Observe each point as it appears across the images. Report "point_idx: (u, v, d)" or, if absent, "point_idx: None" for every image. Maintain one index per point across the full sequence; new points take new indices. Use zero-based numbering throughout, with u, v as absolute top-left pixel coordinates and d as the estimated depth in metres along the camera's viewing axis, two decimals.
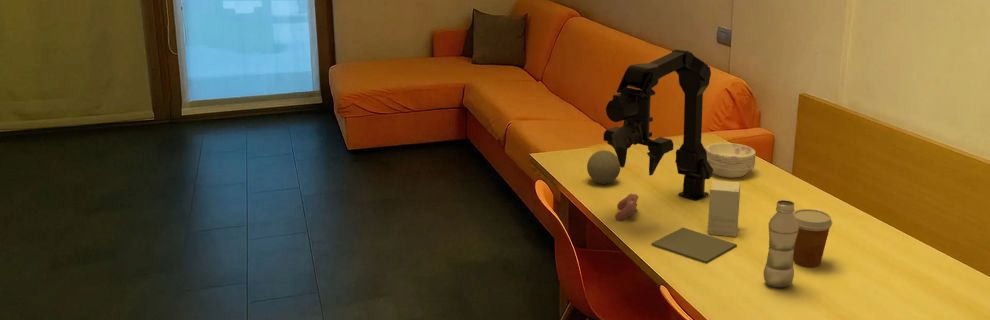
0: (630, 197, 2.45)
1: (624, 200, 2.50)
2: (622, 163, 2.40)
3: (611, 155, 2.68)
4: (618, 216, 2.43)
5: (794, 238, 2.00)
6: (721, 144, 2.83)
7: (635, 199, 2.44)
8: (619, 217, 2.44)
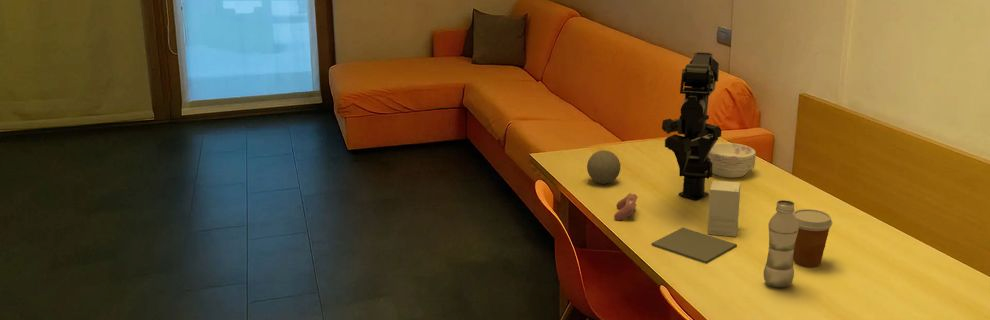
0: (629, 197, 2.45)
1: (623, 200, 2.51)
2: (700, 158, 2.48)
3: (611, 155, 2.68)
4: (617, 216, 2.44)
5: (794, 238, 2.00)
6: (721, 144, 2.83)
7: (634, 199, 2.44)
8: (618, 217, 2.44)
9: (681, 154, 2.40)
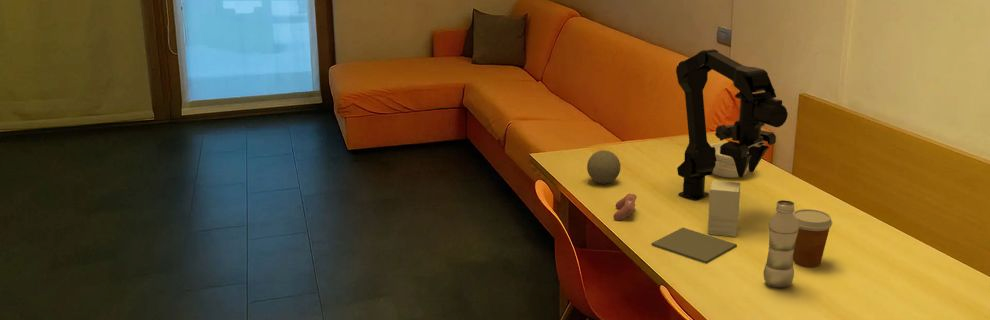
0: (628, 197, 2.45)
1: (622, 200, 2.51)
2: (750, 167, 2.41)
3: (611, 155, 2.68)
4: (616, 216, 2.44)
5: (794, 238, 2.00)
6: (721, 144, 2.83)
7: (633, 199, 2.44)
8: (618, 217, 2.44)
9: (740, 160, 2.35)
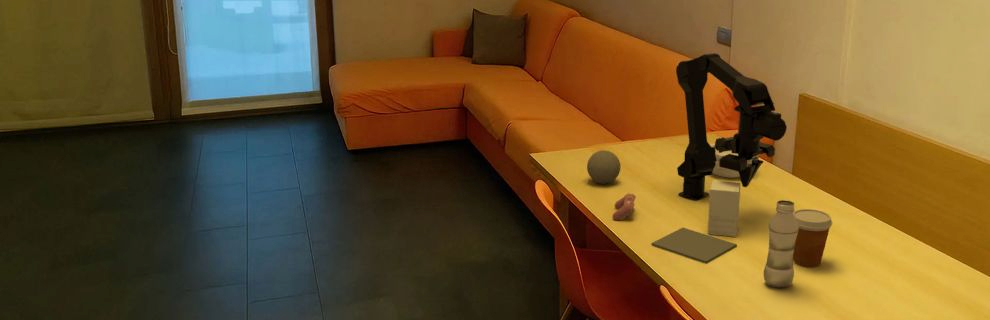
0: (627, 197, 2.45)
1: (621, 200, 2.51)
2: None
3: (611, 155, 2.68)
4: (615, 216, 2.44)
5: (794, 238, 2.00)
6: None
7: (632, 199, 2.44)
8: (617, 217, 2.44)
9: (744, 170, 2.37)
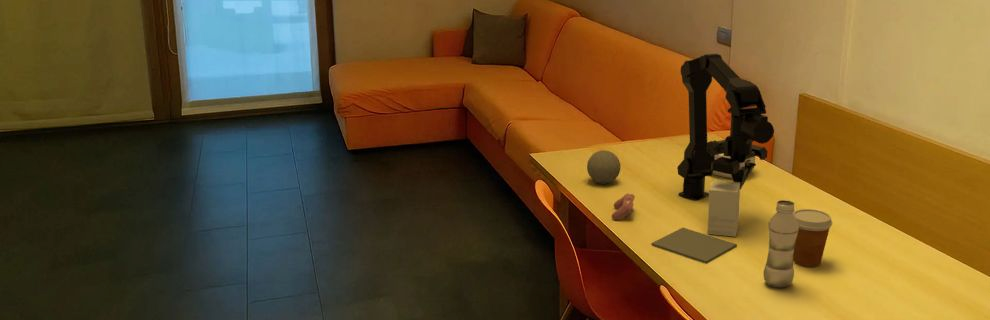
0: (626, 197, 2.45)
1: (620, 200, 2.51)
2: None
3: (611, 155, 2.68)
4: (614, 216, 2.44)
5: (794, 238, 2.00)
6: None
7: (631, 199, 2.44)
8: (616, 217, 2.44)
9: (737, 173, 2.34)
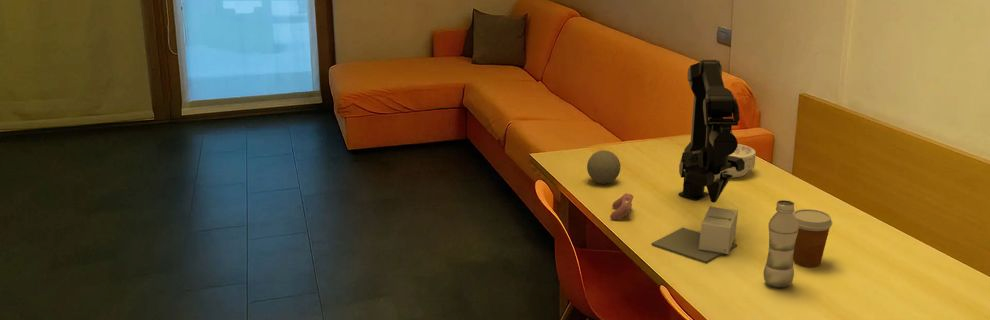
0: (625, 197, 2.45)
1: (619, 200, 2.51)
2: None
3: (611, 155, 2.68)
4: (613, 216, 2.44)
5: (794, 238, 2.00)
6: None
7: (630, 199, 2.44)
8: (614, 217, 2.44)
9: (712, 185, 2.27)
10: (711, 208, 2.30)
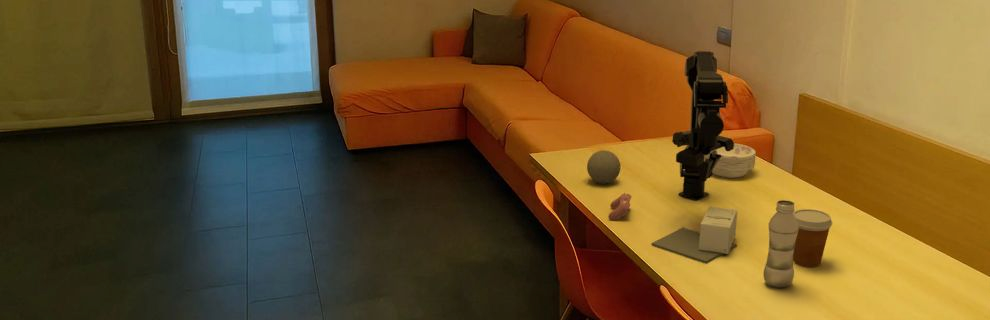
0: (623, 197, 2.45)
1: (617, 200, 2.51)
2: None
3: (611, 155, 2.68)
4: (611, 216, 2.44)
5: (794, 238, 2.00)
6: None
7: (628, 199, 2.44)
8: (613, 217, 2.44)
9: (702, 164, 2.34)
10: (710, 208, 2.30)
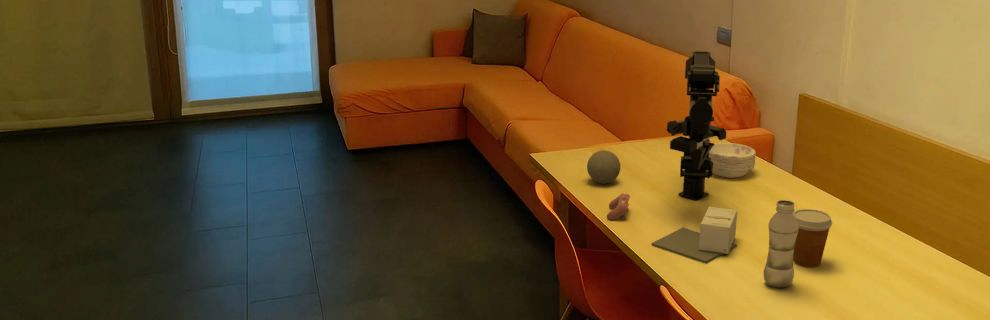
0: (622, 197, 2.45)
1: (616, 200, 2.51)
2: None
3: (611, 155, 2.68)
4: (610, 216, 2.44)
5: (794, 238, 2.00)
6: (721, 144, 2.83)
7: (627, 199, 2.45)
8: (611, 217, 2.44)
9: (696, 152, 2.41)
10: (710, 208, 2.30)
